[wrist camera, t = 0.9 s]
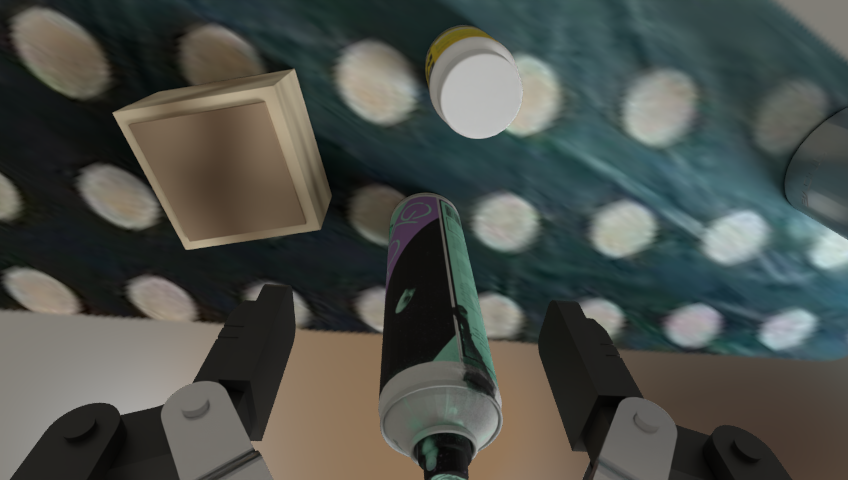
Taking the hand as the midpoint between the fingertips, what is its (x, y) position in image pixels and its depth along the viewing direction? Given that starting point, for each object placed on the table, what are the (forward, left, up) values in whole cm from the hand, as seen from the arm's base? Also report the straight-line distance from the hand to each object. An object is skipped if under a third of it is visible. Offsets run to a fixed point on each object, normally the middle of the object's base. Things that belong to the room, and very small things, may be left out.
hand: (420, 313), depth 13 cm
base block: (+11, -1, -19) cm, 22 cm away
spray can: (0, +7, -19) cm, 20 cm away
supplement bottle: (-4, -4, -19) cm, 20 cm away
